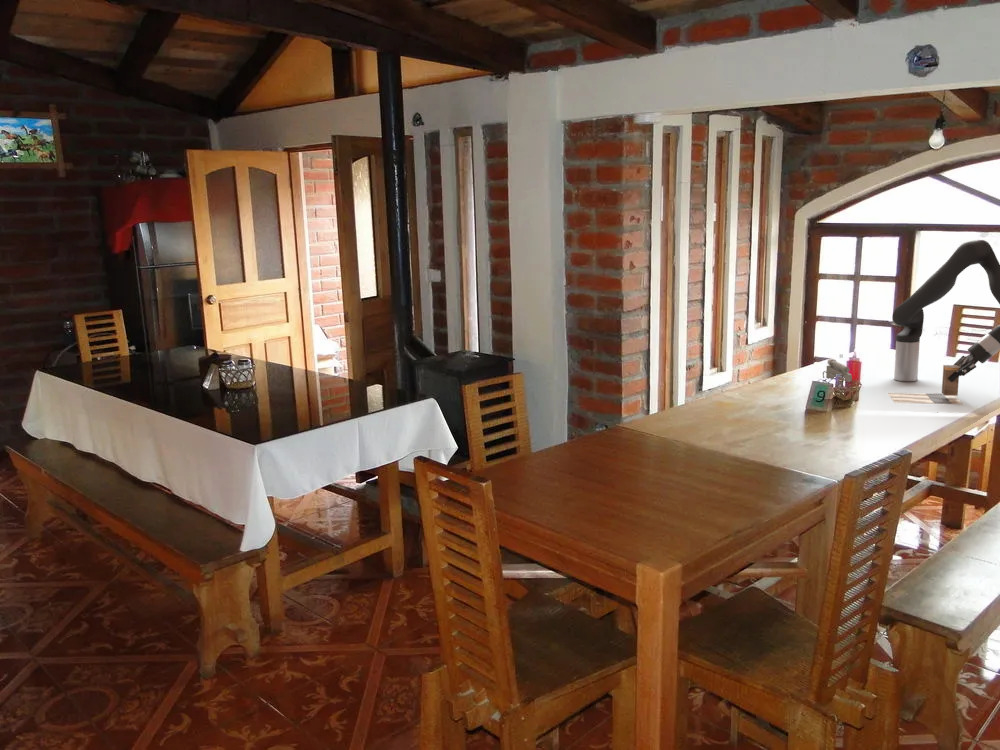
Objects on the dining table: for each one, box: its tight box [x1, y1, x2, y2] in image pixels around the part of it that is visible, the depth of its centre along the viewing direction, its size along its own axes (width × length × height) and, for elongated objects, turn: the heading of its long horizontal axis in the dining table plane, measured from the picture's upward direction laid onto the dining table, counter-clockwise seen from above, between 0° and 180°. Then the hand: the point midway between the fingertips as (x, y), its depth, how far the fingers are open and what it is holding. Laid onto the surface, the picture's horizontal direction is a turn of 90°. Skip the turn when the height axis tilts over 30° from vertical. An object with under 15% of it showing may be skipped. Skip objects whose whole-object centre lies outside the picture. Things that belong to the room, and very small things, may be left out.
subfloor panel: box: [888, 392, 964, 405], centre depth 324 cm, size 16×24×2 cm, turn 73°
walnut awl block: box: [941, 364, 960, 397], centre depth 320 cm, size 5×5×11 cm
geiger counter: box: [822, 358, 853, 382], centre depth 342 cm, size 14×6×25 cm
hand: (948, 378), depth 320 cm, fingers closed on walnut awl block, 4 cm apart
